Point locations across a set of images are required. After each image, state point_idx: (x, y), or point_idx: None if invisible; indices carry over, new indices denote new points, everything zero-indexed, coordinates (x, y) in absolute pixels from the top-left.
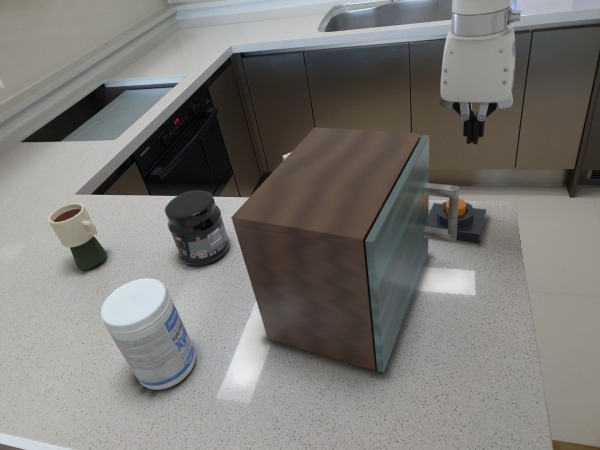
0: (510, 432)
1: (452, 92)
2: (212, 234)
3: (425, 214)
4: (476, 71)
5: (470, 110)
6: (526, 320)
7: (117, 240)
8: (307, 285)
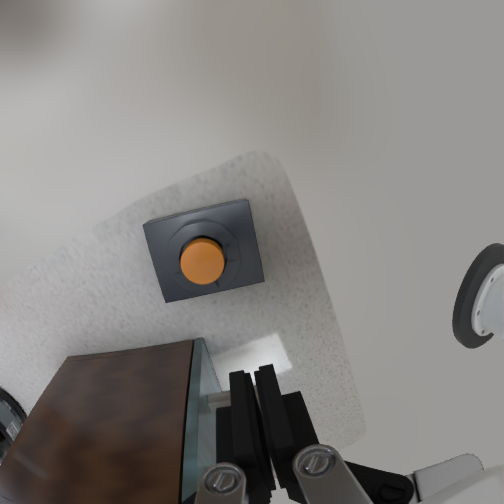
0: (347, 442)
1: None
2: (12, 436)
3: (206, 421)
4: None
5: (249, 501)
6: (350, 368)
7: None
8: None
